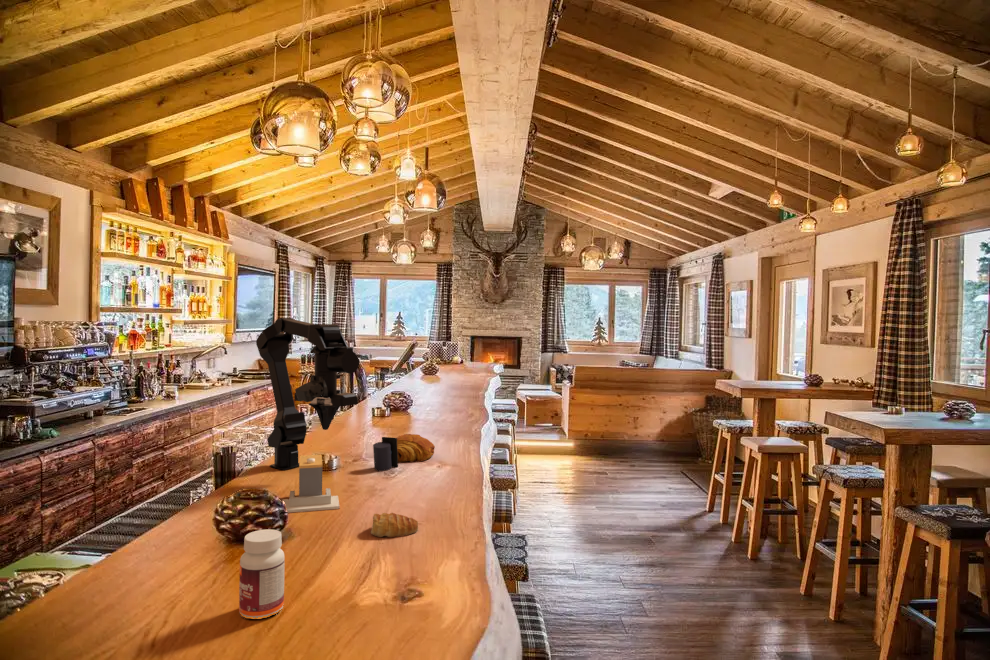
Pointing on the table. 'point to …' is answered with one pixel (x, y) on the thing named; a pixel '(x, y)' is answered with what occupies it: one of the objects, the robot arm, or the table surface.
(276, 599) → the pill bottle
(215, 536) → the table surface
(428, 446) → the croissant
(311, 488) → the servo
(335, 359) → the robot arm
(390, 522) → the pastry
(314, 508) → the bracket
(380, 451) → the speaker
